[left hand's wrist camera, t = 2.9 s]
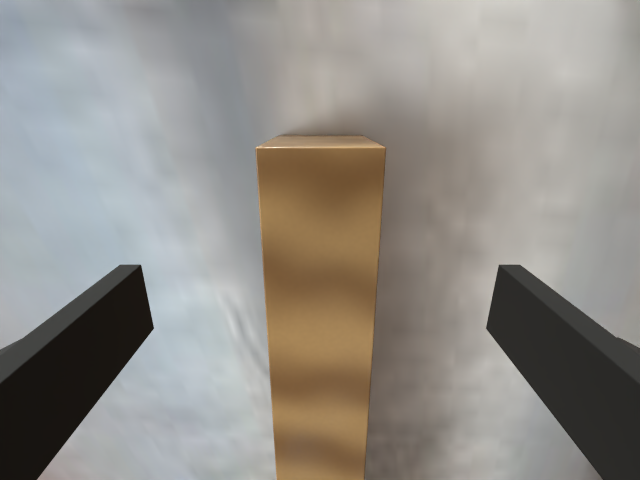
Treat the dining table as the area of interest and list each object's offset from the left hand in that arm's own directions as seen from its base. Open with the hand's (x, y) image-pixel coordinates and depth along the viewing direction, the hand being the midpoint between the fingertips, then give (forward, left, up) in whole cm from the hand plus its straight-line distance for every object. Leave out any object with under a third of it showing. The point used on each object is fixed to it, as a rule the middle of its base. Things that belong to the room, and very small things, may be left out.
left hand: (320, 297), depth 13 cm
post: (+26, -19, -12) cm, 35 cm away
